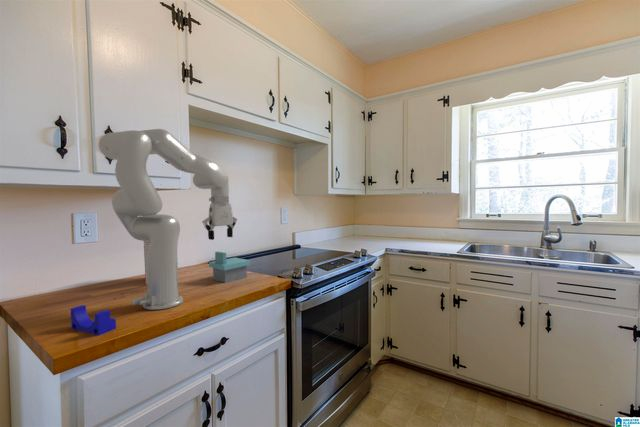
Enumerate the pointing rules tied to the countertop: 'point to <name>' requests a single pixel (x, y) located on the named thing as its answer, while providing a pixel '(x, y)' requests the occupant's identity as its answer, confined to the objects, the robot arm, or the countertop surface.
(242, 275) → the tub
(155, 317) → the countertop surface
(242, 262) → the lid
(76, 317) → the cable clip
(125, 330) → the countertop surface
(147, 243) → the cracker box
